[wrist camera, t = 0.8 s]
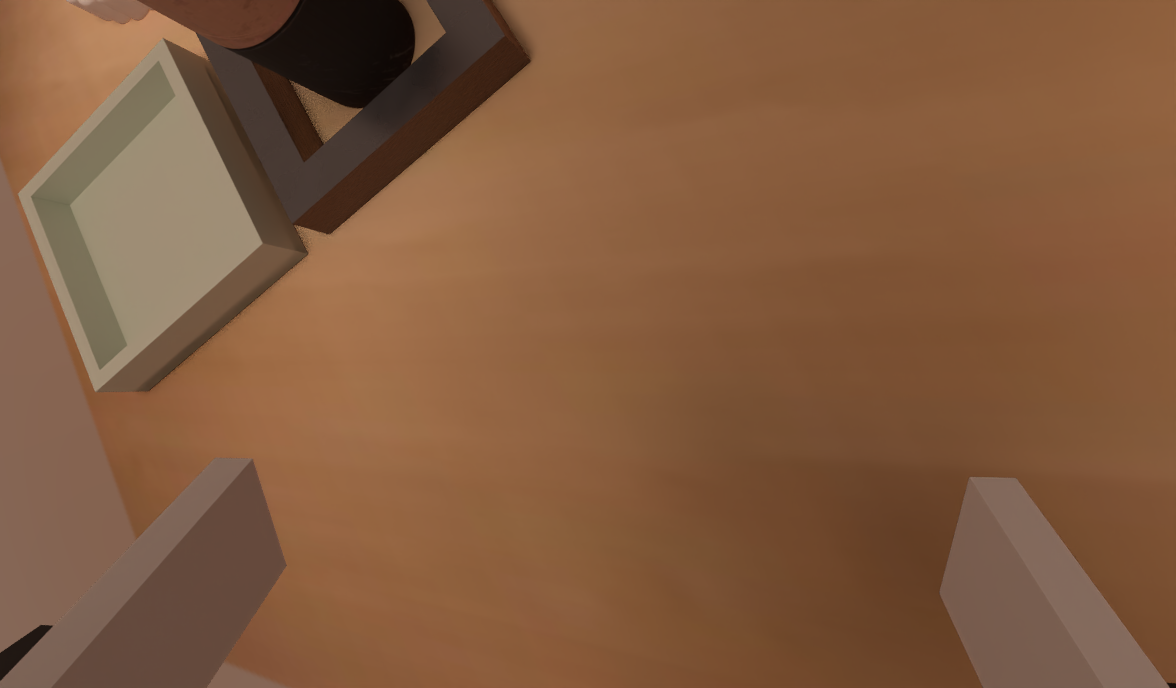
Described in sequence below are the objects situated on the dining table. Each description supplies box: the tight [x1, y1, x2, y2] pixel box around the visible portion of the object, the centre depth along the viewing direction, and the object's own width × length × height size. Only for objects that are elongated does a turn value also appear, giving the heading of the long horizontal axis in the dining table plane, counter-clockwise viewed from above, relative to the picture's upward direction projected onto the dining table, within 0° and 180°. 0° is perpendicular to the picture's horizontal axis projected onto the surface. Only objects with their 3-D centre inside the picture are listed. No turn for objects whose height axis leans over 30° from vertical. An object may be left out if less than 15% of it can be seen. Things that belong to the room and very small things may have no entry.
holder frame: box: [196, 0, 530, 234], centre depth 40 cm, size 16×16×3 cm
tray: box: [18, 38, 308, 392], centre depth 45 cm, size 16×16×4 cm
